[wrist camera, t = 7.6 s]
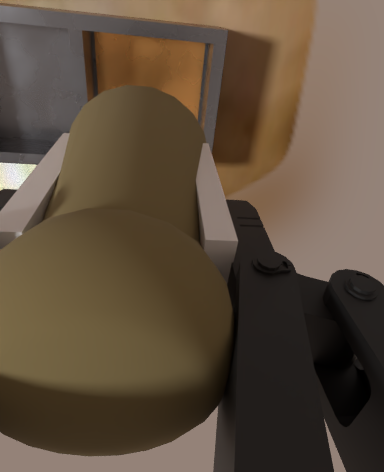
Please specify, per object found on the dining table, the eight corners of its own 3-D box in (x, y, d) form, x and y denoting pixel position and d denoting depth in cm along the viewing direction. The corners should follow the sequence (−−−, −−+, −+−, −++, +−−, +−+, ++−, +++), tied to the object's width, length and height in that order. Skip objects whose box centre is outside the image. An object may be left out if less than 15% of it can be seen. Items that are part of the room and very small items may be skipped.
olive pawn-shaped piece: (227, 191, 15) (311, 451, 6) (113, 235, 16) (49, 512, 7) (175, 57, 12) (200, 208, 3) (36, 122, 13) (-250, 380, 4)
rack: (219, 26, 23) (228, 30, 20) (203, 157, 29) (208, 177, 26) (-210, -21, 20) (-282, -26, 17) (-136, 135, 26) (-179, 154, 23)
